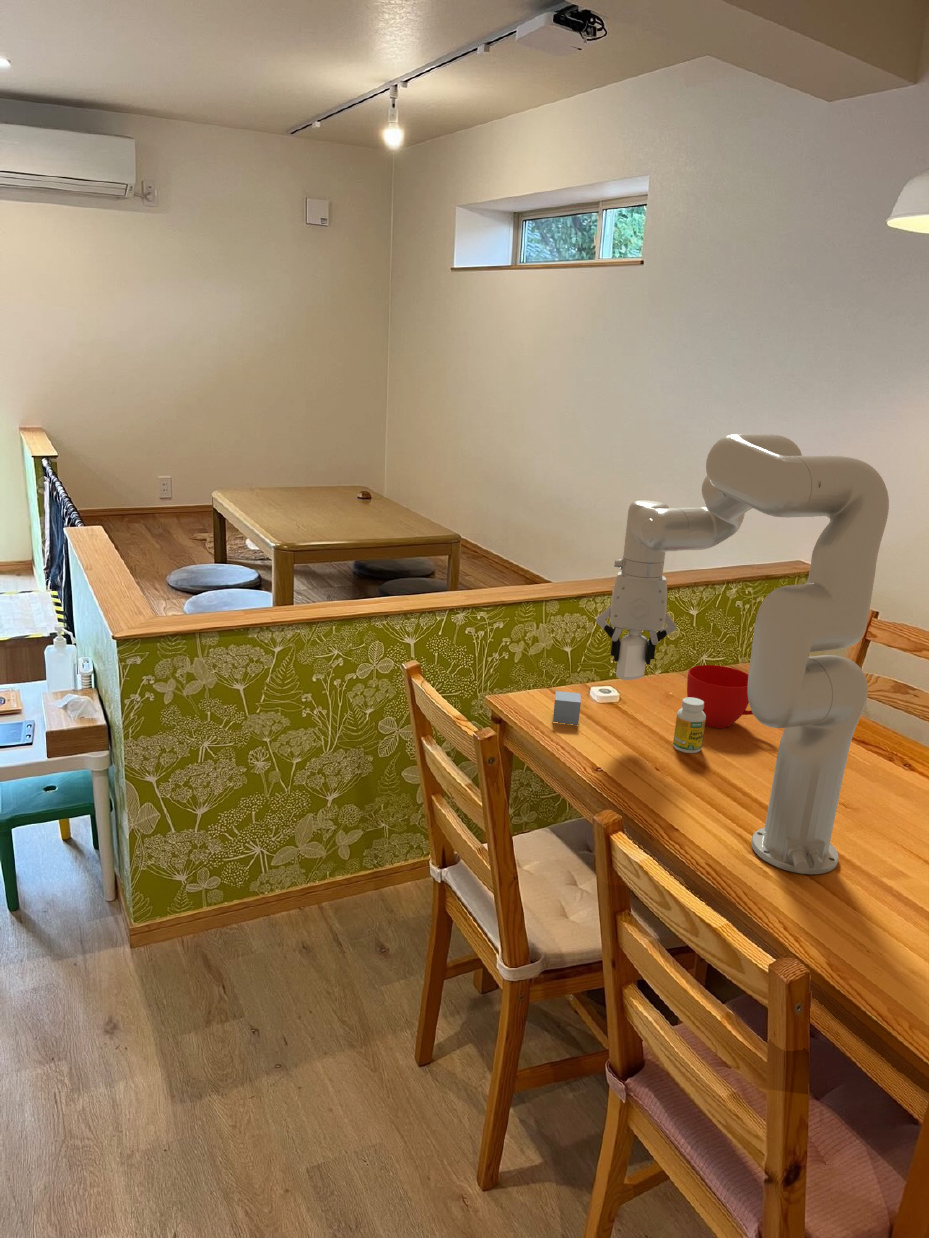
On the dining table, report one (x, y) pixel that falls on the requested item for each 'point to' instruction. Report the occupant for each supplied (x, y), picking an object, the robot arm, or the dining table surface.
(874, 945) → the dining table surface
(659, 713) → the dining table surface
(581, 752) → the dining table surface
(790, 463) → the robot arm
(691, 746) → the supplement bottle
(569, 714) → the slate block
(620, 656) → the eye dropper bottle
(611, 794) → the dining table surface
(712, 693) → the ceramic cup
